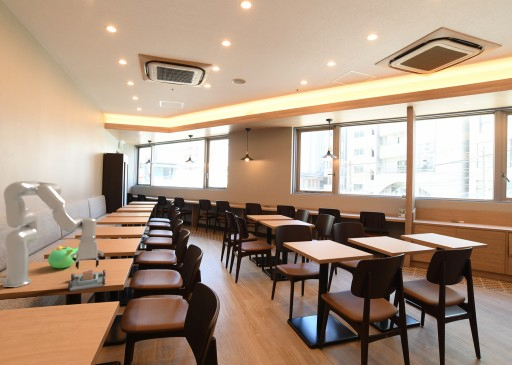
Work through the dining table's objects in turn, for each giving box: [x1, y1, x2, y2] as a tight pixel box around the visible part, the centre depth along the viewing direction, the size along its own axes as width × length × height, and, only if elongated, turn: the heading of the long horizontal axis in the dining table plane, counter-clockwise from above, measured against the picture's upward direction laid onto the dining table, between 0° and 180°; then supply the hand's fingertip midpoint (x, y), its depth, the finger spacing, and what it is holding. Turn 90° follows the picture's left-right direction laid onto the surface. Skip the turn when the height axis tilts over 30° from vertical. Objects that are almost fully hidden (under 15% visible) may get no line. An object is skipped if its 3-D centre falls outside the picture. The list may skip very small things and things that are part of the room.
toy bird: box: [47, 245, 78, 269], centre depth 190 cm, size 18×17×15 cm
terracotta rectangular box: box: [82, 268, 94, 281], centre depth 163 cm, size 5×7×6 cm
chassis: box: [67, 269, 106, 292], centre depth 163 cm, size 18×21×4 cm
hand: (87, 267), depth 163 cm, fingers open, 9 cm apart
